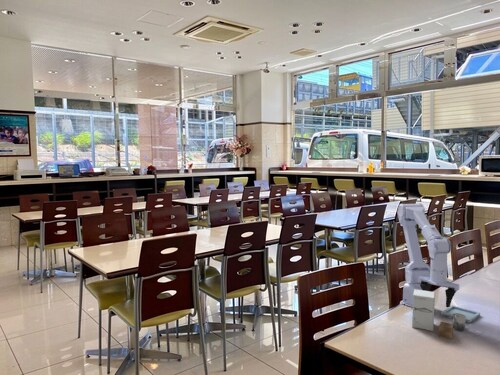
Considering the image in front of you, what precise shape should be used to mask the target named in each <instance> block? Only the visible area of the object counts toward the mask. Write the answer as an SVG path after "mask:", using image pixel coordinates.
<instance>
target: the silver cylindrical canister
mask: <svg viewBox="0 0 500 375" xmlns="http://www.w3.org/2000/svg"><path fill="white" fill-rule="evenodd" d="M465 319H466V316H465V315H463V314H459V313H455V314H453V318H452V324H453V330H455V331H457V332H464V331H466V322H465Z"/></svg>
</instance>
